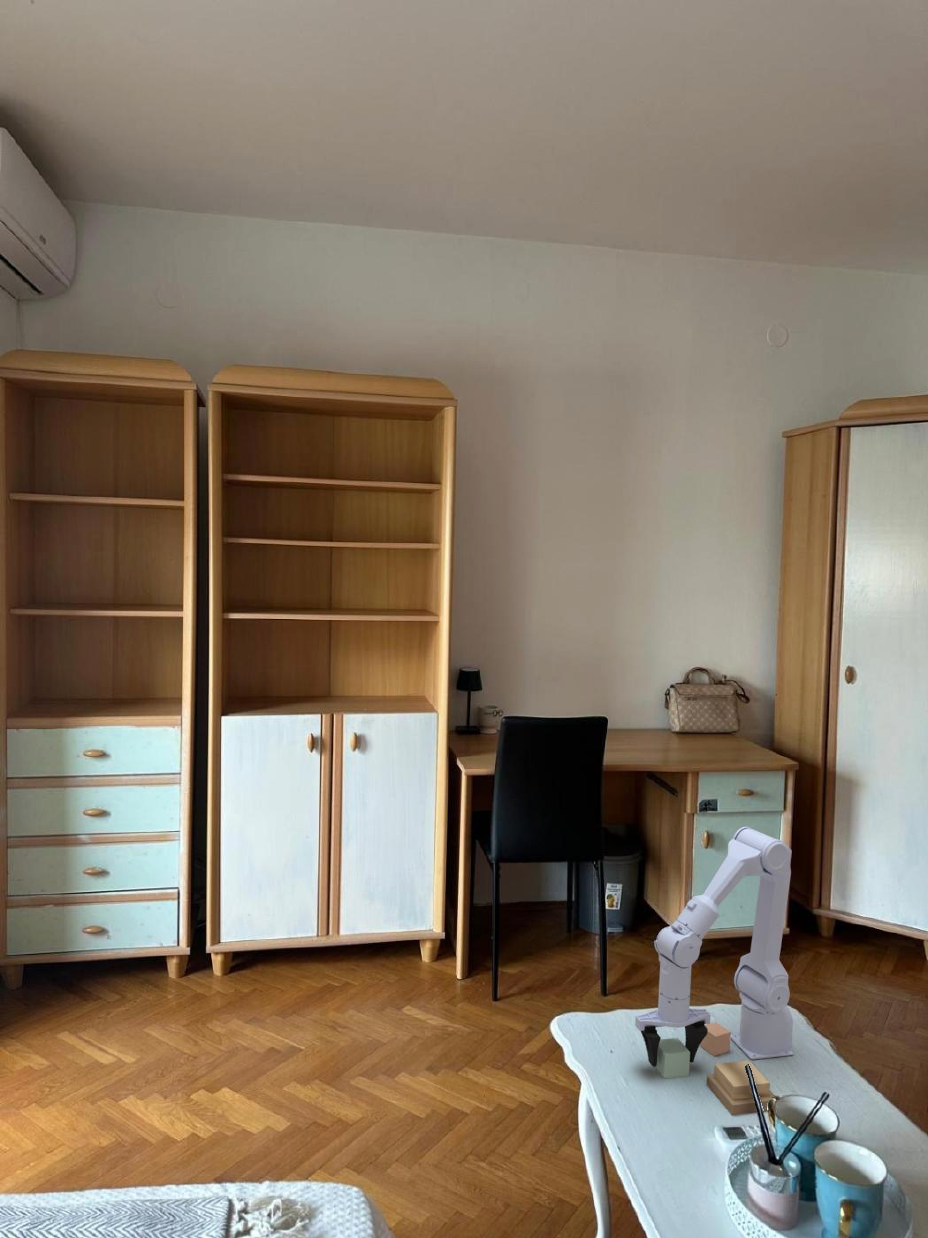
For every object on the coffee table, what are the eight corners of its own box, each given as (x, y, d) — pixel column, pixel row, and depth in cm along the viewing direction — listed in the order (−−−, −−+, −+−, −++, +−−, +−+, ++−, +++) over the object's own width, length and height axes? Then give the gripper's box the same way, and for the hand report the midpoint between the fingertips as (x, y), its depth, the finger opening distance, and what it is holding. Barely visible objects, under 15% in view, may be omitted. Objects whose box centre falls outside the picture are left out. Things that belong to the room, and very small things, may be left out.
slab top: (748, 1073, 160) (748, 1060, 160) (769, 1096, 153) (769, 1083, 153) (713, 1076, 159) (714, 1064, 158) (733, 1100, 152) (734, 1087, 152)
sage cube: (676, 1060, 167) (677, 1038, 166) (688, 1076, 162) (690, 1052, 161) (652, 1063, 165) (653, 1040, 165) (664, 1078, 161) (665, 1055, 160)
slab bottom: (750, 1082, 161) (750, 1070, 161) (777, 1112, 153) (778, 1099, 152) (706, 1087, 159) (707, 1075, 159) (731, 1118, 151) (732, 1105, 150)
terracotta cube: (714, 1041, 174) (716, 1022, 174) (729, 1051, 170) (730, 1032, 170) (700, 1045, 172) (701, 1026, 172) (714, 1056, 168) (715, 1036, 168)
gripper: (699, 979, 168) (695, 1046, 169) (630, 985, 165) (626, 1053, 166) (717, 997, 161) (713, 1067, 162) (645, 1004, 158) (642, 1075, 159)
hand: (670, 1061), depth 164 cm, fingers open, 7 cm apart
